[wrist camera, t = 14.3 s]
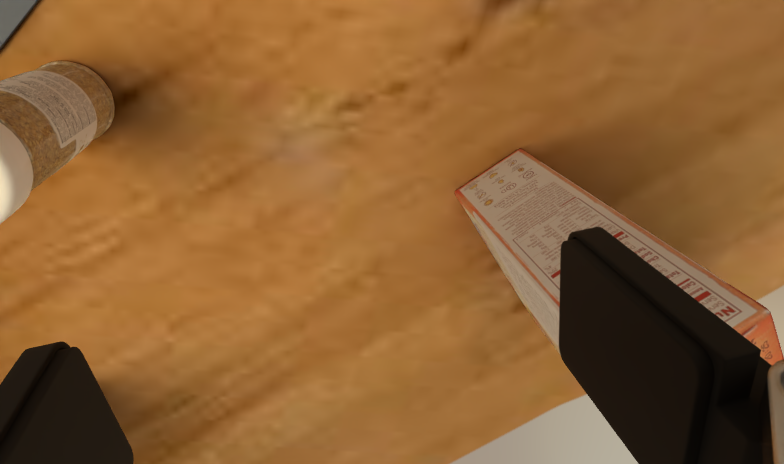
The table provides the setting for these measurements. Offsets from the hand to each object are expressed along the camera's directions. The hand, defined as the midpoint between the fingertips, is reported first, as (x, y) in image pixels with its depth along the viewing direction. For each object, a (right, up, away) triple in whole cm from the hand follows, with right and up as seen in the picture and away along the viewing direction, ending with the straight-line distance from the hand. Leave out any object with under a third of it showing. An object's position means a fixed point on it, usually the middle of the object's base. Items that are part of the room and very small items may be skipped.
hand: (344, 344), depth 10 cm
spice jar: (-17, +10, +19) cm, 28 cm away
